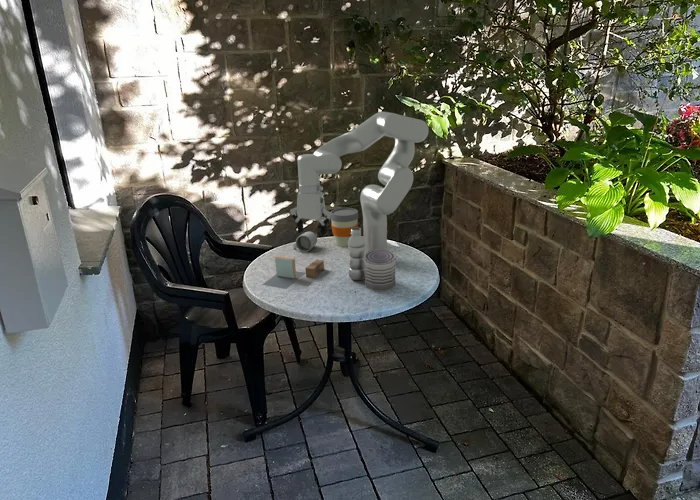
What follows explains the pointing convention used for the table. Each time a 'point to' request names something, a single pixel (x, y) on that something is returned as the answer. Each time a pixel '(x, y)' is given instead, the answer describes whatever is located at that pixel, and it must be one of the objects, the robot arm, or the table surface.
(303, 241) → the ceramic mug
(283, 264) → the tile
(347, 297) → the table surface
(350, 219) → the reusable coffee cup
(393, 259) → the ribbed tin
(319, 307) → the table surface
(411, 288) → the table surface
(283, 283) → the mat
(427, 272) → the table surface
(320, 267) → the tall brown block
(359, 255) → the silver bottle
